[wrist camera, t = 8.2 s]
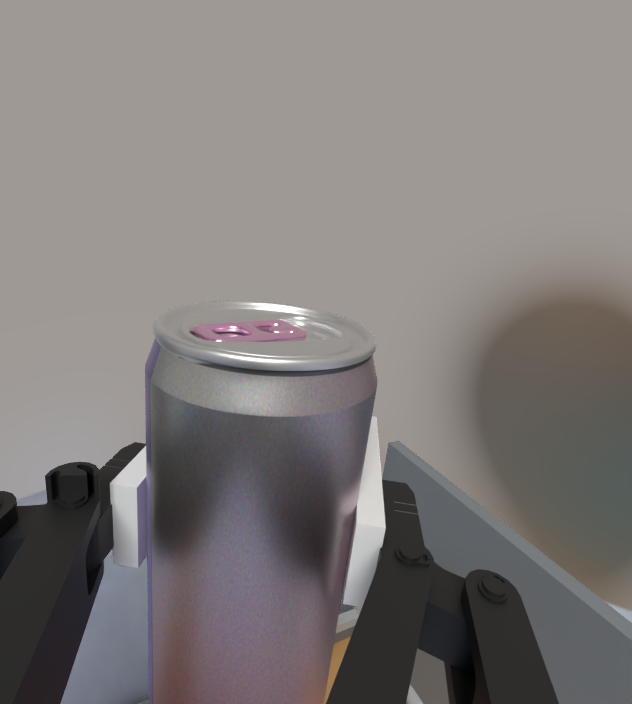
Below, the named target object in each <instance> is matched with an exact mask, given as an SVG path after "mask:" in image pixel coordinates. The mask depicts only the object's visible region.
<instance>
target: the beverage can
mask: <svg viewBox="0 0 632 704" xmlns="http://www.w3.org/2000/svg"><path fill="white" fill-rule="evenodd" d="M153 332H154V335H155V340H154V343H153V346H152V348H151V351H150V354H149V356H148V359H147V362H146V365H145V390H146V391H145V392H146V393H145V397H146V398H145V401H146V489H147V577H148V665H149V704H324V700H325V694H326V688H327V682H328V676H329V670H330V664H331V658H332V652H333V646H334V640H335V634H336V628H337V622H338V616H339V610H340V604H341V598H342V592H343V586H344V578H345V572H346V566H347V560H348V554H349V548H350V542H351V536H352V530H353V524H354V518H355V512H356V506H357V502H358V496H359V491H360V485H361V479H362V473H363V467H364V461H365V455H366V449H367V443H368V437H369V431H370V425H371V419H372V413H373V407H374V401H375V395H376V389H377V376H376V372H375V366H374V360H373V354H374V352H375V349H376V338H375V336H374V334H373V333H372V332H371V331H370V330H369V329H367V328H366V327H365V326H363V325H361V324H359V323H358V322H356V321H353V320H351V319H348V318H346V317H343V316H340V315H337V314H333V313H329V312H326V311H322V310H317V309H312V308H307V307H302V306H295V305H289V304H280V303H270V302H257V301H209V302H199V303H192V304H186V305H181V306H177V307H174V308H171V309H168V310H166V311H164V312H162V313H161V314H159V315H158V316H157V318H156V319H155V321H154V324H153Z"/></svg>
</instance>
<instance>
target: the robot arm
mask: <svg viewBox="0 0 632 704" xmlns="http://www.w3.org/2000/svg"><path fill="white" fill-rule="evenodd" d="M45 479H46V490H47V501H48V502H47V503H46V504H44V505H32V506H17V502H16V497H15V496H14V495H13V494H12V493H9V492H5V491H0V704H60V703H61V700H62V697H63V694H64V691H65V688H66V685H67V682H68V679H69V676H70V673H71V670H72V667H73V664H74V661H75V658H76V655H77V652H78V649H79V646H80V643H81V640H82V637H83V634H84V631H85V628H86V625H87V622H88V619H89V616H90V613H91V610H92V607H93V604H94V601H95V598H96V595H97V592H98V589H99V586H100V583H101V580H102V577H103V573H104V559H105V557H106V556H107V555H108V553H109V552H110V551H111V549H113V564H117V565H122V566H128V567H134V568H139V567H140V565H141V563H142V562H143V560H144V559H145V557H146V556H147V489H146V444H142V443H136V442H135V443H133V444H131V445H128V446H127V447H124V448H122V449H121V450H120V451H119V452H118V453H117V454H116V455H115V456H114V457H113V458H112V459H110V460H109V461H108V462H107V463H106V464H105V466H103V467H102V468H101V469H100V470H99V469H98V468H97V467H96V465H93V464H91V463H86V462H74V463H68V464H64V465H61V466H58V467H56V468H54V469H53V470H51V471H50V472H49V473H48V474H47V475H46V476H45ZM343 604H346V605H352V606H358V607H362V609H361V612H360V614H359V617H358V619H357V622H356V625H355V627H354V630H353V633H352V635H351V638H350V641H349V643H348V646H347V649H346V651H345V654H344V657H343V659H342V662H341V664H340V667H339V670H338V672H337V675H336V678H335V680H334V683H333V686H332V688H331V691H330V694H329V696H328V699H327V702H326V704H406V701H407V696H408V691H409V687H410V682H411V677H412V672H413V667H414V662H415V657H416V652H417V648H418V649H420V650H422V651H424V652H426V653H428V654H430V655H432V656H434V657H436V658H438V659H440V660H442V661H444V666H445V674H446V682H447V689H448V697H449V704H559V702H558V699H557V696H556V694H555V691H554V688H553V685H552V682H551V680H550V677H549V674H548V671H547V668H546V666H545V663H544V660H543V657H542V654H541V652H540V649H539V646H538V643H537V640H536V638H535V635H534V632H533V629H532V626H531V624H530V621H529V618H528V615H527V612H526V610H525V607H524V604H523V601H522V598H521V596H520V594H519V592H518V591H517V589H516V587H515V586H514V585H513V584H511V583H510V582H509V581H508V580H507V579H506V578H504V577H502V576H501V575H499V574H498V573H495V572H492V571H489V570H481V569H477V570H474V571H471V572H469V574H468V575H467V576H466V578H463V577H461V576H458V575H456V574H454V573H451V572H449V571H447V570H445V569H443V568H442V567H440V566H439V565H438V564H436V563H435V562H434V558H433V556H432V554H431V553H430V551H429V550H428V549H427V548H426V547H425V545H424V540H423V535H422V530H421V525H420V520H419V515H418V510H417V506H416V500H415V494H414V492H413V491H412V490H411V489H410V487H409V486H408V485H407V483H401V482H395V481H388V480H382V477H381V464H380V452H379V440H378V428H377V417H373V416H372V419H371V425H370V431H369V437H368V443H367V449H366V455H365V461H364V467H363V473H362V479H361V485H360V491H359V496H358V502H357V506H356V512H355V518H354V524H353V530H352V536H351V542H350V548H349V554H348V560H347V566H346V572H345V578H344V592H343Z"/></svg>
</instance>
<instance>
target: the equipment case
mask: <svg viewBox="0 0 632 704" xmlns="http://www.w3.org/2000/svg"><path fill="white" fill-rule="evenodd" d="M382 480H388V481H395V482H401V483H407V485H408V486H409V487H410V489H411V490H412V491H413V492H414V494H415V500H416V506H417V510H418V515H419V520H420V525H421V530H422V535H423V540H424V545H425V547H426V548H427V549H428V550H429V551H430V553H431V554H432V556H433V558H434V562H435V563H436V564H438V565H439V566H440V567H442V568H443V569H445V570H447V571H449V572H451V573H454V574H456V575H458V576H461V577H463V578H466V576H467V575H468V574H469V572H471V571H474V570H477V569H481V570H489V571H492V572H495V573H498V574H499V575H501V576H502V577H504V578H506V579H507V580H508V581H509V582H510V583H511V584H513V585H514V586H515V587H516V589H517V591H518V592H519V594H520V596H521V598H522V601H523V604H524V607H525V610H526V612H527V615H528V618H529V621H530V624H531V626H532V629H533V632H534V635H535V638H536V640H537V643H538V646H539V649H540V652H541V654H542V657H543V660H544V663H545V666H546V668H547V671H548V674H549V677H550V680H551V682H552V685H553V688H554V691H555V694H556V696H557V699H558V702H559V704H632V623H631V622H630V621H628V620H627V619H626V618H625V617H623V616H622V615H621V614H620V613H618V612H617V611H616V610H614V609H613V608H612V607H611V606H609V605H608V604H607V603H605V602H604V601H603V600H602V599H600V598H599V597H598V596H596V595H595V594H594V593H593V592H591V591H590V590H589V589H588V588H586V587H585V586H584V585H582V584H581V583H580V582H579V581H577V580H576V579H575V578H573V577H572V576H571V575H570V574H568V573H567V572H566V571H564V570H563V569H562V568H561V567H559V566H558V565H557V564H556V563H554V562H553V561H552V560H550V559H549V558H548V557H546V556H545V555H544V554H542V553H541V552H540V551H539V550H538V549H536V548H535V547H534V546H532V545H531V544H530V543H529V542H527V541H526V540H525V539H524V538H522V537H521V536H520V535H518V534H517V533H516V532H514V531H513V530H512V529H511V528H510V527H508V526H507V525H506V524H504V523H503V522H501V520H499V519H498V518H497V517H495V516H494V515H493V514H492V513H490V512H489V511H488V510H486V509H485V508H484V507H483V506H481V505H480V504H479V503H477V502H476V501H475V500H474V499H472V498H471V497H470V496H469V495H467V494H466V493H465V492H463V491H462V490H461V489H460V488H458V487H457V486H456V485H454V484H453V483H452V482H451V481H449V480H448V479H447V478H446V477H444V476H443V475H442V474H440V473H439V472H438V471H437V470H435V469H434V468H433V467H431V466H430V465H429V464H428V463H426V462H425V461H424V460H423V459H421V458H420V457H419V456H417V455H416V454H415V453H414V452H412V451H411V450H410V449H408V448H407V447H406V446H405V445H403V444H402V443H401V442H399V441H396V442H390V443H389V444H388V450H387V455H386V461H385V466H384V473H383V478H382ZM361 609H362V607H358V606H354V609H352V610H349V611H347V612H344V613H342V614H339V616H338V622H337V628H336V634H335V640H334V646H333V652H332V658H331V664H330V670H329V676H328V682H327V688H326V694H325V700H324V704H326V702H327V699H328V696H329V694H330V691H331V688H332V686H333V683H334V680H335V678H336V675H337V672H338V670H339V667H340V664H341V662H342V659H343V657H344V654H345V651H346V649H347V646H348V643H349V641H350V638H351V635H352V633H353V630H354V627H355V625H356V622H357V619H358V617H359V614H360V612H361ZM136 704H149V699H146V700H144V701H141V702H139V703H136ZM406 704H449V697H448V689H447V682H446V674H445V666H444V661H442V660H440V659H438V658H436V657H434V656H432V655H430V654H428V653H426V652H424V651H422V650H420V649H418V648H417V652H416V657H415V662H414V667H413V672H412V677H411V682H410V687H409V691H408V696H407V701H406Z"/></svg>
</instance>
